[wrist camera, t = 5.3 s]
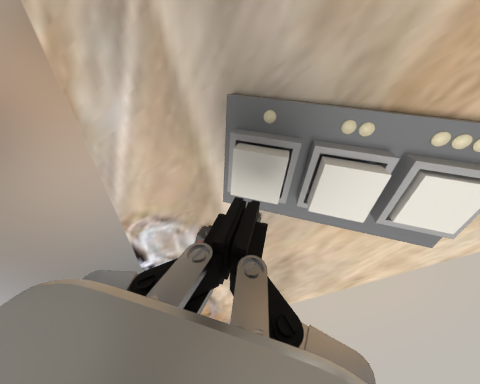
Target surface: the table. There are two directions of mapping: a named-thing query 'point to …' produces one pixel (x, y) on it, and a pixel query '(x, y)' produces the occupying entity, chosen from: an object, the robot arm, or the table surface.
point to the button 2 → (346, 188)
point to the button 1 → (258, 172)
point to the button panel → (352, 154)
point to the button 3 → (438, 201)
